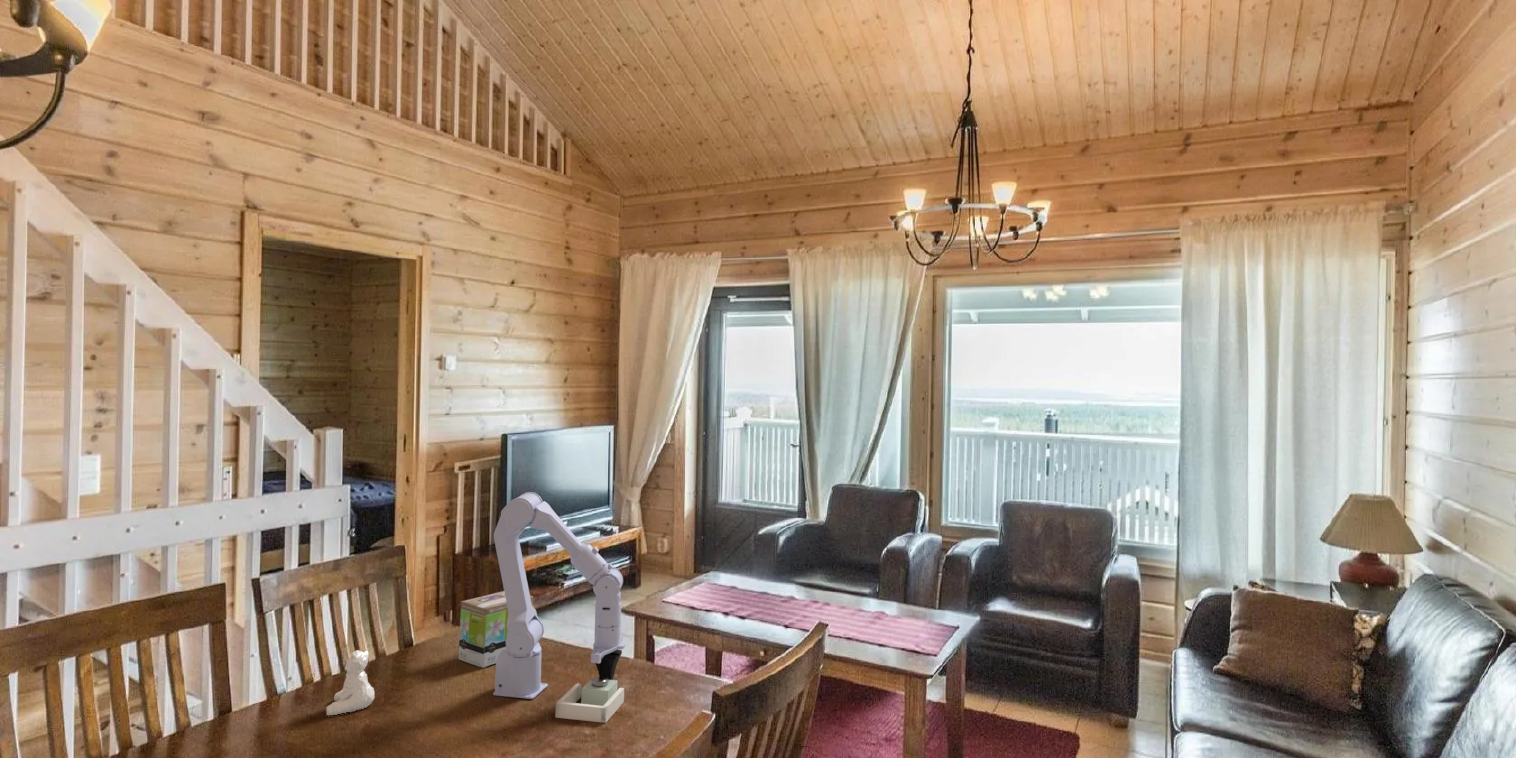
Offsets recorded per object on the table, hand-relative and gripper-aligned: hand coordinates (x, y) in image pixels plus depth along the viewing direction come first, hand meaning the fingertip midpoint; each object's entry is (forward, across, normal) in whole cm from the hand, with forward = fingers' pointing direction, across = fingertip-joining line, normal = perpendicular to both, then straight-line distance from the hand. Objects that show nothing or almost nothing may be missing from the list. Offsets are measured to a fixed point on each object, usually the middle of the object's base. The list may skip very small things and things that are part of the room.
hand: (606, 684), depth 183 cm
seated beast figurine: (+2, -20, +49) cm, 53 cm away
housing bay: (+2, -9, 0) cm, 9 cm away
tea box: (+2, +15, +35) cm, 38 cm away
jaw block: (+2, -4, 0) cm, 5 cm away
